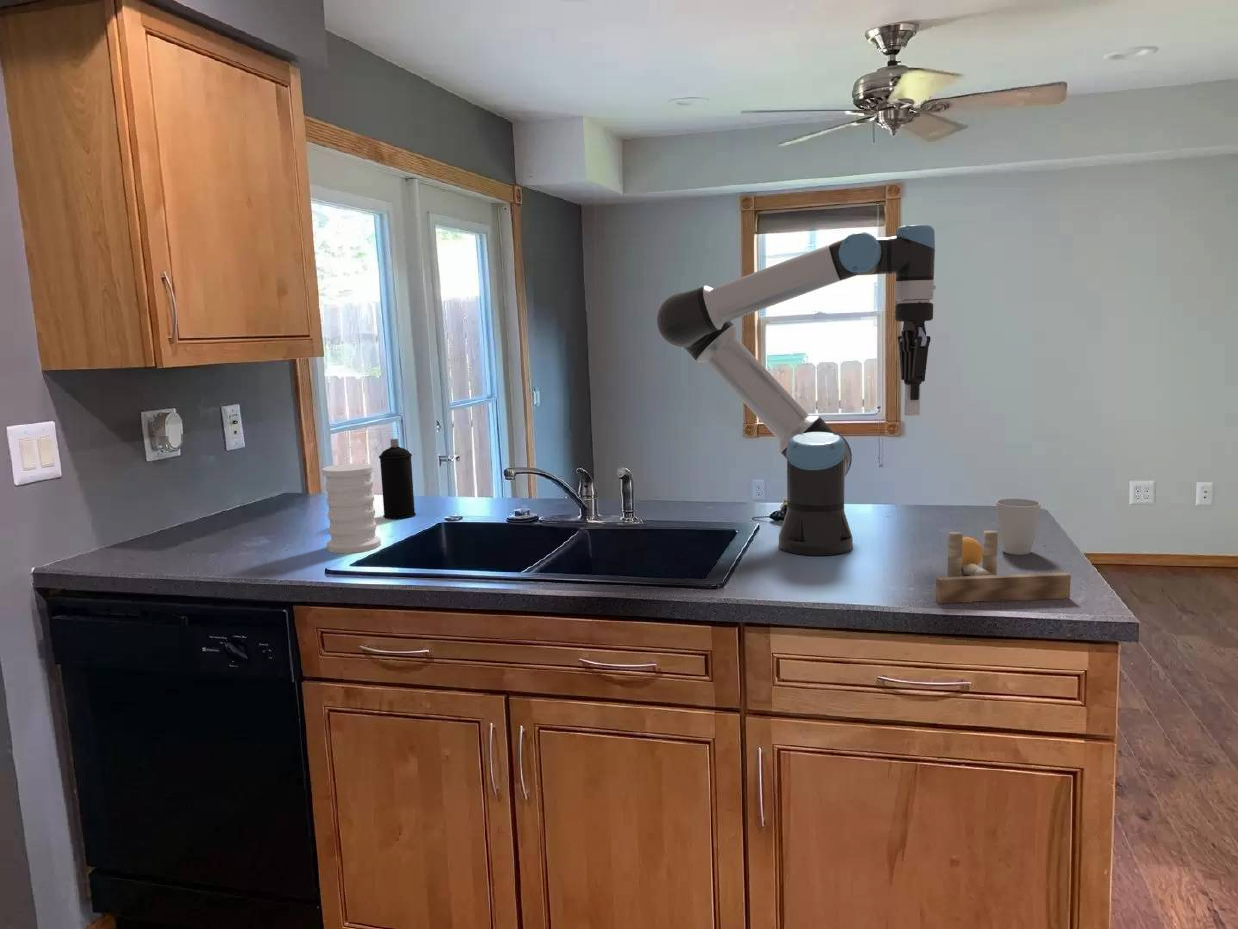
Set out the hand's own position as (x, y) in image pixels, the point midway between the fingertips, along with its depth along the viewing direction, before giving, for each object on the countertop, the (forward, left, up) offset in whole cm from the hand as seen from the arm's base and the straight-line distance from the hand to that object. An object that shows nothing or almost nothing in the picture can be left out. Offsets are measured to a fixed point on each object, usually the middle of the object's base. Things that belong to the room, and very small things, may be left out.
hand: (911, 414), depth 193 cm
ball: (+2, -26, -23) cm, 35 cm away
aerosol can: (-118, +41, -27) cm, 128 cm away
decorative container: (-122, +10, -27) cm, 125 cm away
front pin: (+1, -30, -25) cm, 39 cm away
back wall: (0, -45, -26) cm, 52 cm away
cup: (+16, -15, -27) cm, 35 cm away
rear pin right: (-3, -32, -26) cm, 42 cm away
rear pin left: (+3, -32, -26) cm, 42 cm away
